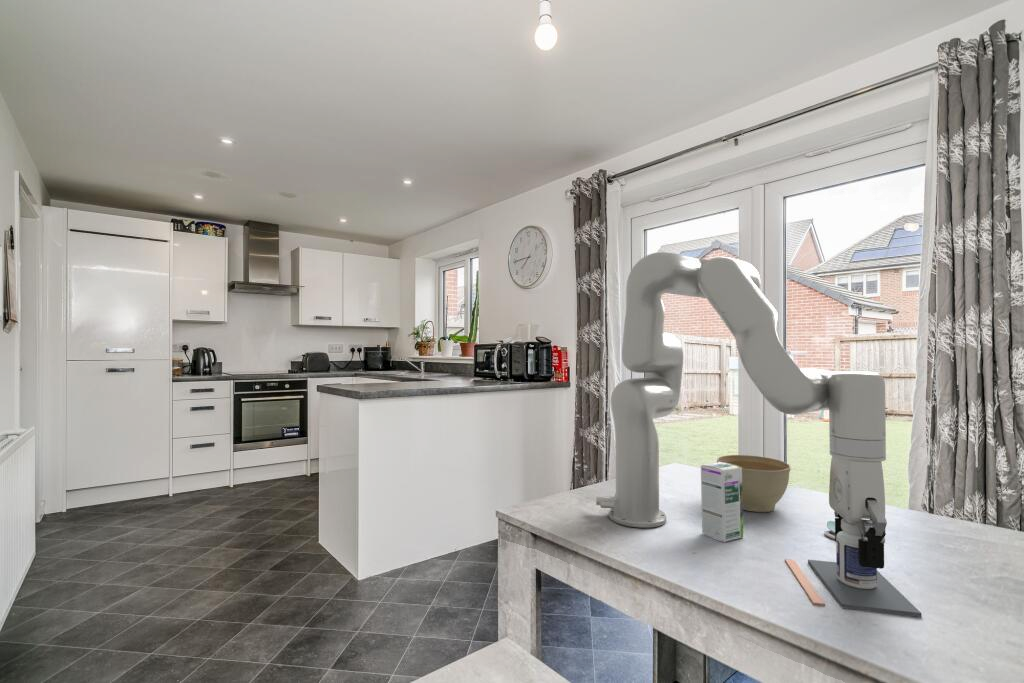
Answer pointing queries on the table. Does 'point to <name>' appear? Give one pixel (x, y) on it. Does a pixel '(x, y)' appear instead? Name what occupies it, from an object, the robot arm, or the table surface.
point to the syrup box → (722, 501)
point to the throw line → (805, 583)
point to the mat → (864, 593)
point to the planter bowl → (760, 480)
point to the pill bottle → (852, 559)
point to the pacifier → (832, 529)
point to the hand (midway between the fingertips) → (858, 554)
